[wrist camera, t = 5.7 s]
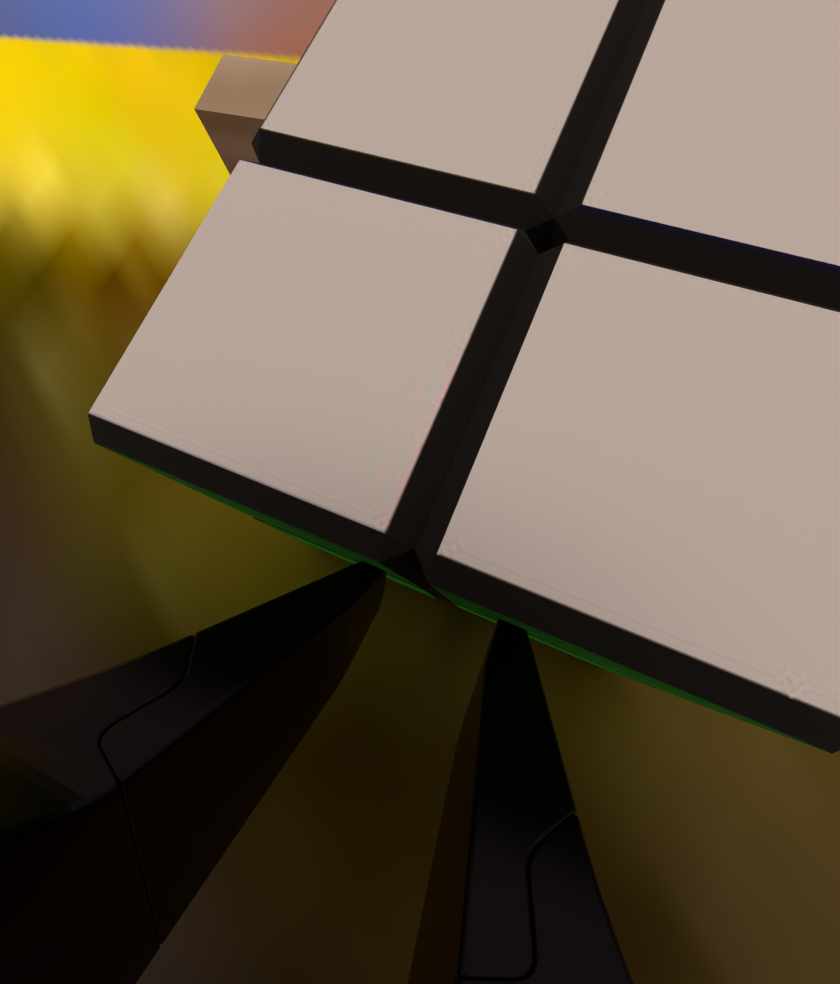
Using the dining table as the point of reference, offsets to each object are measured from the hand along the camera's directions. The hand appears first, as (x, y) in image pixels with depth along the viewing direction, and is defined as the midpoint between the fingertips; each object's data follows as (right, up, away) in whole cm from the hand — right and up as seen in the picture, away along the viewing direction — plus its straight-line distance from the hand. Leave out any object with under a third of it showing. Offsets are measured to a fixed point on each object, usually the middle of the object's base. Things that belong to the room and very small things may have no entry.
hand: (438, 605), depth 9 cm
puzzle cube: (+3, +3, +7) cm, 8 cm away
